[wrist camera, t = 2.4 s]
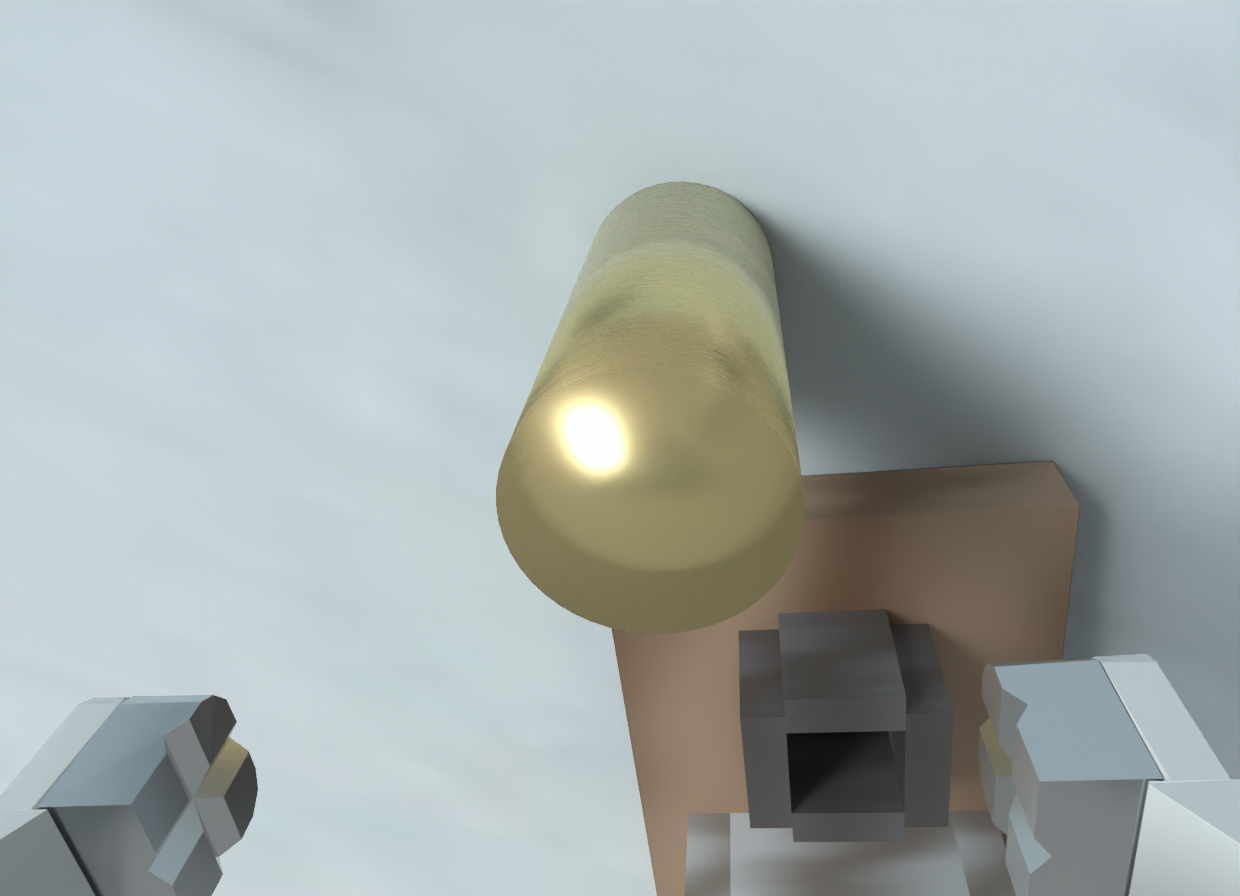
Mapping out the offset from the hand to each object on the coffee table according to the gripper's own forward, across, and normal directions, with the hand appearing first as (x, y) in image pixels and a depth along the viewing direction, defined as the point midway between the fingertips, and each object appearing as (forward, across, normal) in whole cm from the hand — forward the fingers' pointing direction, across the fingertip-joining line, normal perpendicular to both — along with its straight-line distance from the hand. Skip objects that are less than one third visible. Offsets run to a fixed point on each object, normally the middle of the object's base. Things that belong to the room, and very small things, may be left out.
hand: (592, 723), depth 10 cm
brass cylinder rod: (+13, -1, -1) cm, 13 cm away
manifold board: (+14, -4, +14) cm, 20 cm away
